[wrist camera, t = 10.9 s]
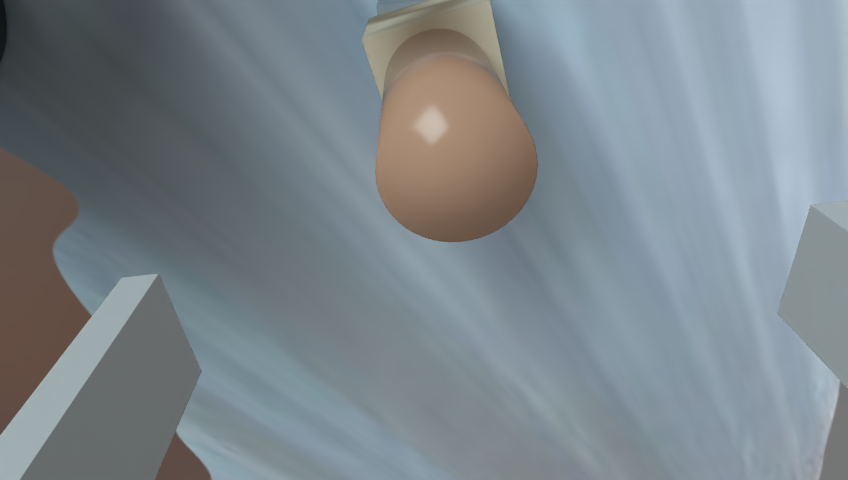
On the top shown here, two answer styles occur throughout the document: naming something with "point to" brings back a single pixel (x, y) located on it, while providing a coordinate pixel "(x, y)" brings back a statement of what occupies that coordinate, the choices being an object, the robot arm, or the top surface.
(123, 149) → the top surface
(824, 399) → the top surface
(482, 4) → the beige cube
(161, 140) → the top surface
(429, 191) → the tan rounded cylinder
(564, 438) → the top surface
